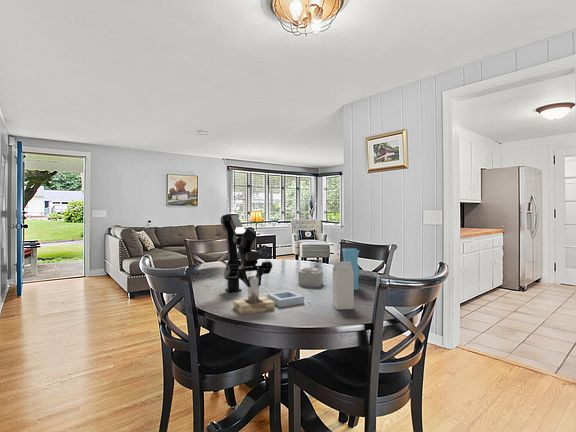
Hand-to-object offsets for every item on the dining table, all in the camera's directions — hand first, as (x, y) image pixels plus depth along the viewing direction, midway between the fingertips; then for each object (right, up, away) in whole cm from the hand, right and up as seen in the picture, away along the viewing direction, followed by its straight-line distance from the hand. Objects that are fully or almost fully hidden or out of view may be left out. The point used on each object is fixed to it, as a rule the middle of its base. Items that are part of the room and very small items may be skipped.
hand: (254, 286), depth 135 cm
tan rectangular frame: (0, -10, +1) cm, 10 cm away
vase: (+46, -9, +35) cm, 59 cm away
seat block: (+13, -9, +11) cm, 19 cm away
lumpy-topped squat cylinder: (+26, -9, +45) cm, 52 cm away
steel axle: (-1, -7, +1) cm, 7 cm away
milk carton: (+37, -10, +3) cm, 38 cm away
